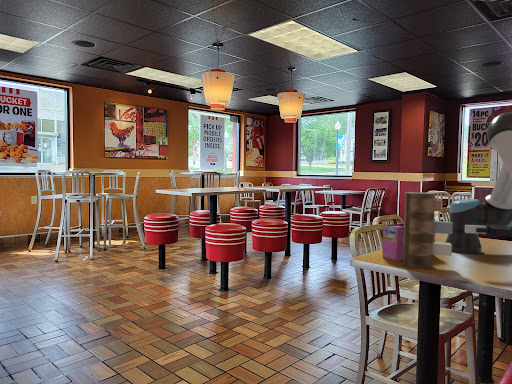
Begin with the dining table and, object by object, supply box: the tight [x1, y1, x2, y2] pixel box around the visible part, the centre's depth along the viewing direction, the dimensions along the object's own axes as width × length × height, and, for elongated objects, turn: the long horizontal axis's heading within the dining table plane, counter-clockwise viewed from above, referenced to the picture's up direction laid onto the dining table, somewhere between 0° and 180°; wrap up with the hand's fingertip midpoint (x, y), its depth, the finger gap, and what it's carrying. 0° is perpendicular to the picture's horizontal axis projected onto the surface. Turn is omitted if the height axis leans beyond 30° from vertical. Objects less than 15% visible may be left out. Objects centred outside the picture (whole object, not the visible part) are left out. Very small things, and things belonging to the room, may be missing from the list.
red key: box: [434, 199, 443, 212], centre depth 142 cm, size 9×4×4 cm, turn 71°
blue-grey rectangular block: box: [434, 220, 453, 235], centre depth 141 cm, size 9×4×4 cm, turn 71°
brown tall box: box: [402, 191, 436, 271], centre depth 143 cm, size 10×10×27 cm
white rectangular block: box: [433, 241, 453, 257], centre depth 141 cm, size 9×4×4 cm, turn 71°
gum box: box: [382, 223, 436, 262], centre depth 159 cm, size 24×8×14 cm, turn 117°
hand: (465, 228), depth 138 cm, fingers closed
